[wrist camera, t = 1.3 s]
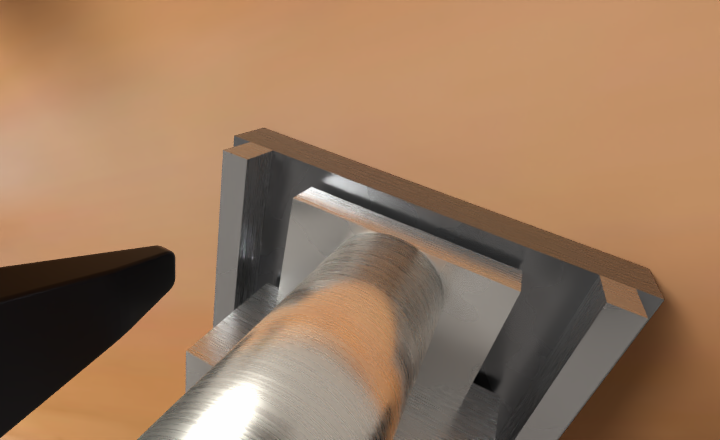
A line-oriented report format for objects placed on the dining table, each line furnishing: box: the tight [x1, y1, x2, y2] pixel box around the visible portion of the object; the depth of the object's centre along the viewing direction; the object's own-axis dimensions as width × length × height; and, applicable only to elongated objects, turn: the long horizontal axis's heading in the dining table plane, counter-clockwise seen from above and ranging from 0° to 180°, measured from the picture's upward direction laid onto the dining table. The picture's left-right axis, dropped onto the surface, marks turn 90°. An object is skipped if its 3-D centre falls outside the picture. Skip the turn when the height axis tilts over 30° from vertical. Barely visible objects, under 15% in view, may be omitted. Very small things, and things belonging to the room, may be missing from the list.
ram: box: [137, 187, 522, 440], centre depth 9 cm, size 7×8×7 cm
